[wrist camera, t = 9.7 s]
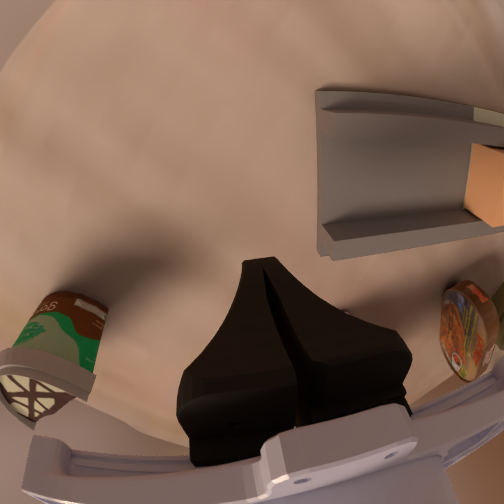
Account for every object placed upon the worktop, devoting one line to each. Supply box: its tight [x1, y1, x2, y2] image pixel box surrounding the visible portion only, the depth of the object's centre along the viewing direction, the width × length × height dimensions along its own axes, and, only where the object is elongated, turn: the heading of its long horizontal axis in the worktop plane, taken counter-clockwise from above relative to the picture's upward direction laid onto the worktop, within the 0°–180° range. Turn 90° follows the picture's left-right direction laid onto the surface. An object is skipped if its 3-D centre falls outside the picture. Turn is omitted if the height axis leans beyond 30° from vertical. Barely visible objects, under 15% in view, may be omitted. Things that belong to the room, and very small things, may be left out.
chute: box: [315, 91, 504, 261], centre depth 20 cm, size 12×22×4 cm, turn 95°
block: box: [464, 143, 504, 227], centre depth 19 cm, size 6×6×4 cm
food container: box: [0, 291, 108, 430], centre depth 19 cm, size 12×6×10 cm, turn 127°
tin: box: [440, 280, 500, 383], centre depth 27 cm, size 15×3×8 cm, turn 23°
